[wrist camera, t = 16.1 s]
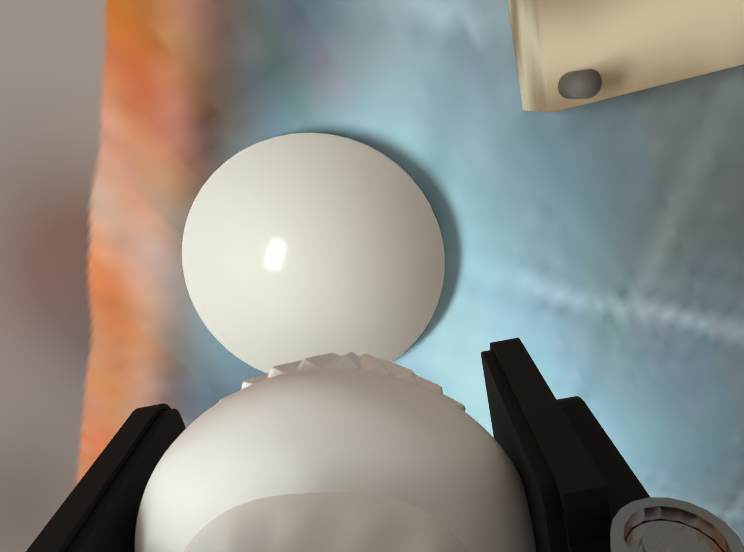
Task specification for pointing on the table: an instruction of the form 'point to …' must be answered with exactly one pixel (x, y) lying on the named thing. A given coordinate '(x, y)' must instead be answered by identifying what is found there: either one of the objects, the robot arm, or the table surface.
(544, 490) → the robot arm
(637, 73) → the pegged square board
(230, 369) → the table surface
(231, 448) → the white rounded piece
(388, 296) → the white plate
